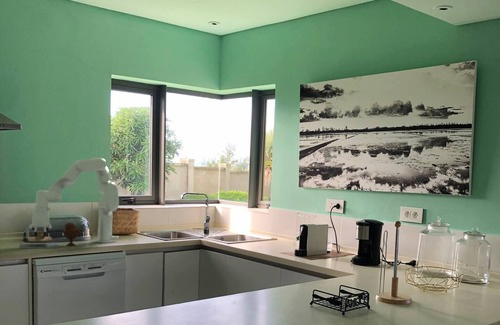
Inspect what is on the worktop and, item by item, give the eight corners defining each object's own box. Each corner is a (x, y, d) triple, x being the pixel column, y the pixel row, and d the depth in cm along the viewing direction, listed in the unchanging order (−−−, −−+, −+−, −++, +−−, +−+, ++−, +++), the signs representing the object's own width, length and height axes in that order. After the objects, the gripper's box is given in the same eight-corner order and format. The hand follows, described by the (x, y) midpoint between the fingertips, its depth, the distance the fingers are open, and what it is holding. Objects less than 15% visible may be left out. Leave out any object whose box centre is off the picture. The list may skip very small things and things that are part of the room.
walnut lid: (51, 238, 331) (51, 230, 331) (51, 241, 318) (52, 232, 318) (28, 238, 325) (28, 230, 325) (27, 241, 312) (28, 232, 312)
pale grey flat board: (57, 243, 334) (57, 242, 334) (58, 247, 318) (58, 247, 318) (21, 244, 326) (21, 243, 326) (20, 248, 309) (20, 247, 309)
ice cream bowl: (76, 247, 324) (77, 224, 324) (59, 246, 324) (60, 223, 324) (82, 244, 334) (83, 222, 334) (65, 243, 334) (66, 221, 334)
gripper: (55, 209, 328) (53, 237, 328) (27, 208, 322) (25, 237, 322) (55, 210, 322) (53, 238, 321) (27, 209, 315) (25, 238, 315)
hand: (39, 237), depth 321 cm, fingers closed on walnut lid, 4 cm apart
